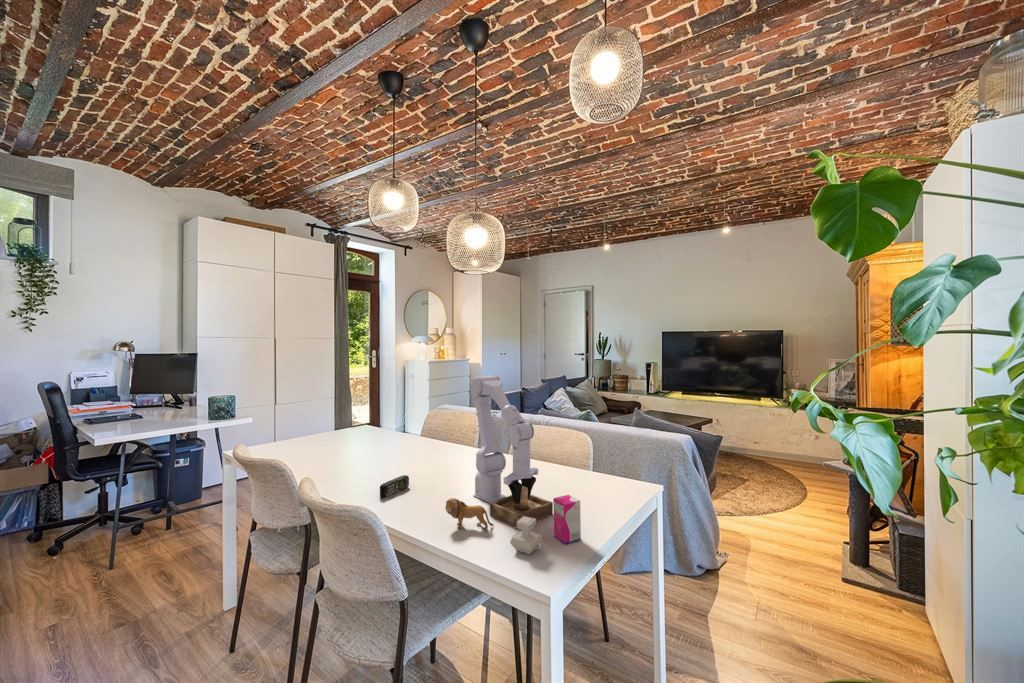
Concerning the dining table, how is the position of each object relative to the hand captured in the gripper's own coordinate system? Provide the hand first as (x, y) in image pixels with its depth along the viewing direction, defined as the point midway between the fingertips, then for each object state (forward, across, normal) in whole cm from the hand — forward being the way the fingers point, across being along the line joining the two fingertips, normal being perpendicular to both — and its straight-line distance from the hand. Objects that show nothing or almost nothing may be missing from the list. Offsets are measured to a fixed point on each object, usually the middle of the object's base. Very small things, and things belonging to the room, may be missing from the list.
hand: (521, 501), depth 134 cm
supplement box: (+5, -2, -20) cm, 21 cm away
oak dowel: (+2, 0, 0) cm, 2 cm away
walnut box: (+5, 0, 0) cm, 5 cm away
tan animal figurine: (+5, -18, +6) cm, 19 cm away
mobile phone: (+5, -18, +48) cm, 51 cm away
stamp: (+5, -15, -16) cm, 22 cm away
